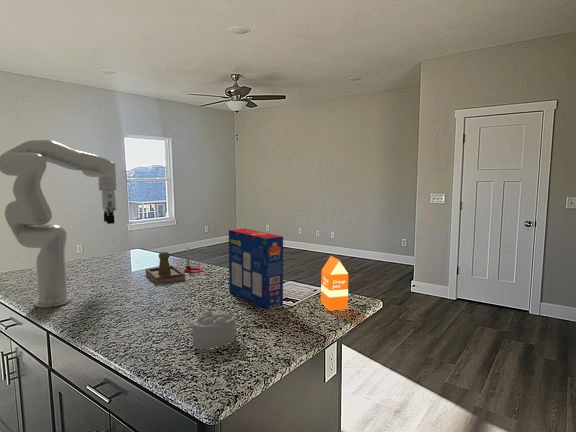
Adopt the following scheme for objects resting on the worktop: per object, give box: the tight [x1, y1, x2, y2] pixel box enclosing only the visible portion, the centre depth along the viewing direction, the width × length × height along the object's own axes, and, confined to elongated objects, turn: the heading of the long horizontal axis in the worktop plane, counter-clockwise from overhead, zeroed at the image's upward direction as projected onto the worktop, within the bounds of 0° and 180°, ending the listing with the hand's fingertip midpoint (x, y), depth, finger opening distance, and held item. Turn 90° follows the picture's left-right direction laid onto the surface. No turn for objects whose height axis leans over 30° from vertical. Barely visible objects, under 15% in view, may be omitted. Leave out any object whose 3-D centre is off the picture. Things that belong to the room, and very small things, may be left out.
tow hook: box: [183, 247, 204, 274], centre depth 199 cm, size 8×13×9 cm
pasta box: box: [228, 228, 284, 311], centre depth 152 cm, size 28×8×28 cm, turn 39°
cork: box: [158, 251, 171, 275], centre depth 185 cm, size 6×6×11 cm
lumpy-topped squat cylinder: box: [191, 309, 237, 349], centre depth 113 cm, size 10×13×9 cm
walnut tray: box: [145, 265, 186, 285], centre depth 186 cm, size 20×14×3 cm
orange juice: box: [320, 255, 349, 311], centre depth 143 cm, size 8×9×20 cm
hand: (109, 222), depth 179 cm, fingers open, 9 cm apart
